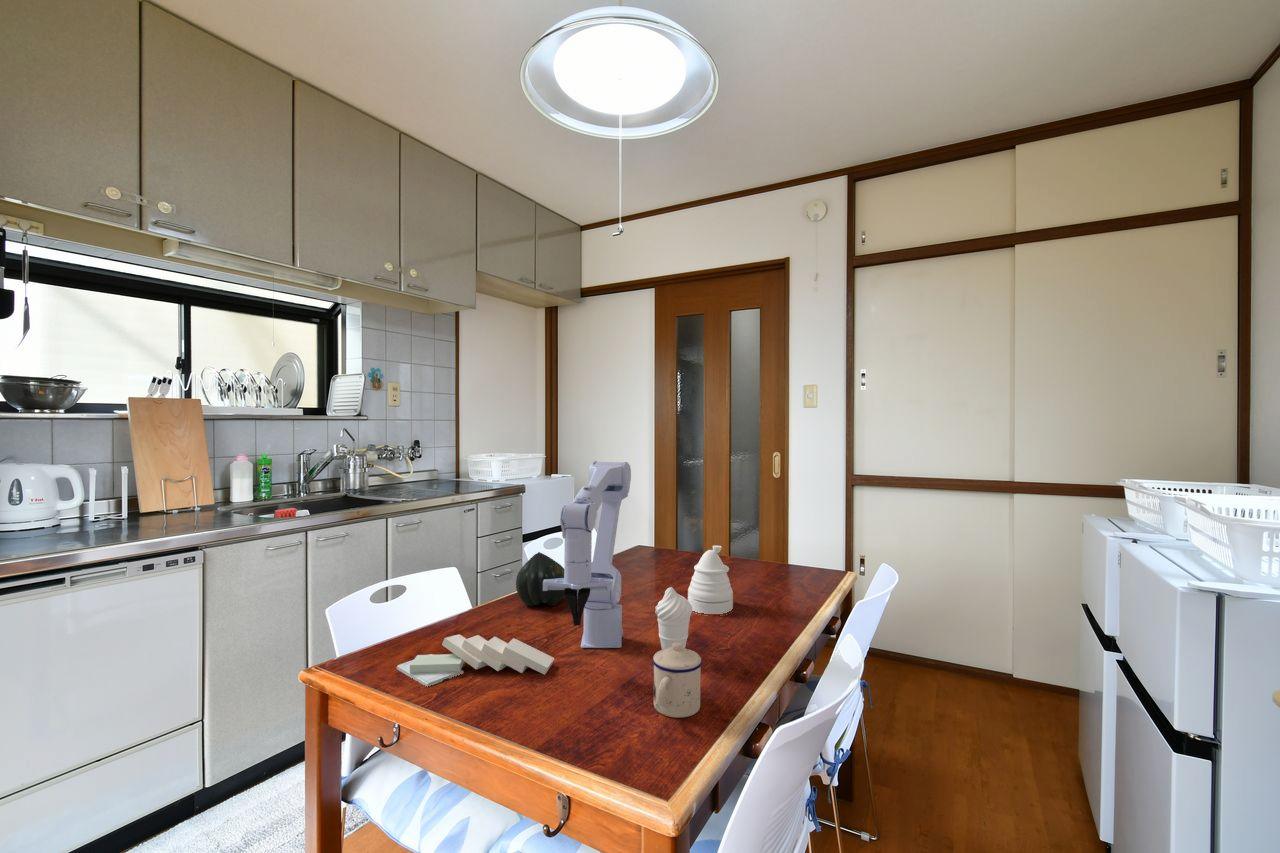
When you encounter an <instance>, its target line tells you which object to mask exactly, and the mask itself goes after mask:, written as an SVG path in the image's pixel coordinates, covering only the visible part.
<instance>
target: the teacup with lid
mask: <svg viewBox="0 0 1280 853" xmlns="http://www.w3.org/2000/svg"><path fill="white" fill-rule="evenodd" d="M652 663H653V707H654V709H655V710H656V711H657V712H658V713H659V714H661V715H662V716H665V717H670V718H675V719H677V718H679V719H680V718H681V719H682V718H688V717H691V716H693V715H695V714H696V713H698V712H699V711H700V708H701V667H702V665H703V660H702V657H701V656H700V654H699V653H697V652H696V651H694V650H692V649H688V648H686V647H685V648H684V647H683V645H682V643H680V642H674V643H673V644H672V647H669V648H666V649H663V650H662V649H660V650H658V651H657V652H655V654H654V655H653V658H652Z"/></svg>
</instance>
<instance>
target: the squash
mask: <svg viewBox="0 0 1280 853" xmlns="http://www.w3.org/2000/svg"><path fill="white" fill-rule="evenodd" d="M558 578H564V567H563V566H562V565H561V564H560V563H558V561H555V560H554V559H553V558H551V557H550V556H548V555H546V554H545V553H542V552H540V551H537V553H535V554H533V555H532V557H530V558H529V560H527V561H526V562H525V563H524V564H523V566H522V567H521V568H520V569H519V571H518V573H517V575H516V579H515V589H516V593H517V595H518V596H519V598H520V600H521V601H522V603H523V604H524V605H527V606H530V607H533V606H536V605H540V604H541V603H542V604H547V605H549V606H555V605H557V604H559V603H560V601H561V600H562V599H563V598H565V596H564V594H565V590H548V591H543V581H544V579H558Z"/></svg>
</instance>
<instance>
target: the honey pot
mask: <svg viewBox="0 0 1280 853" xmlns="http://www.w3.org/2000/svg"><path fill="white" fill-rule="evenodd" d="M722 548H723V547H722V546H721V545H716V544H715V545H712V549H708V550H706V551H705V552H704V553H703V554H702V556H701V557H700V559H699V561H698V562H697V564H695V565H694V566H693V569H694V573H693V575H692V576H691V581H690V584H689V586H688V589H687V600H688V601H689V602H690V604H691V606H692V611H695V612H698V613H704V614H723V613H727V612H729V611H731V610H732V609H734V601H733V600H734V592H733V588H732V587H731V583H730V578H729V577H728V576H729V575H728V572H729V571H730V568H729V566H728V565H726V564H724V563H723V561H722V559H721V557H720V555H719V553H720V552H721V550H722Z"/></svg>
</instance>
